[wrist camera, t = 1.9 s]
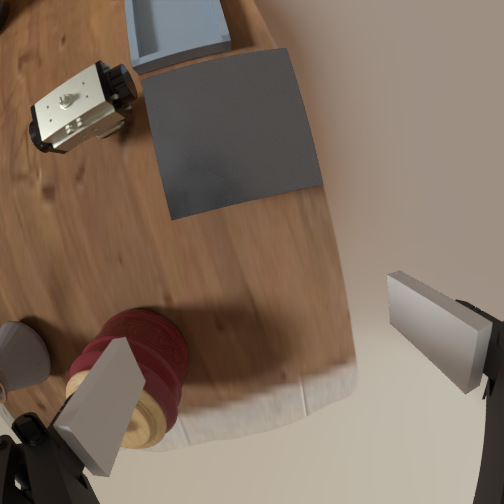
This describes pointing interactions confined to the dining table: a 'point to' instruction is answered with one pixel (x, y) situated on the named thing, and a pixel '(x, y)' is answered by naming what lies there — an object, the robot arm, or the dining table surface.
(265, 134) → the box
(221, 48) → the tray
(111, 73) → the pneumatic valve
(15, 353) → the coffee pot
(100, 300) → the dining table surface
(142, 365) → the canister
